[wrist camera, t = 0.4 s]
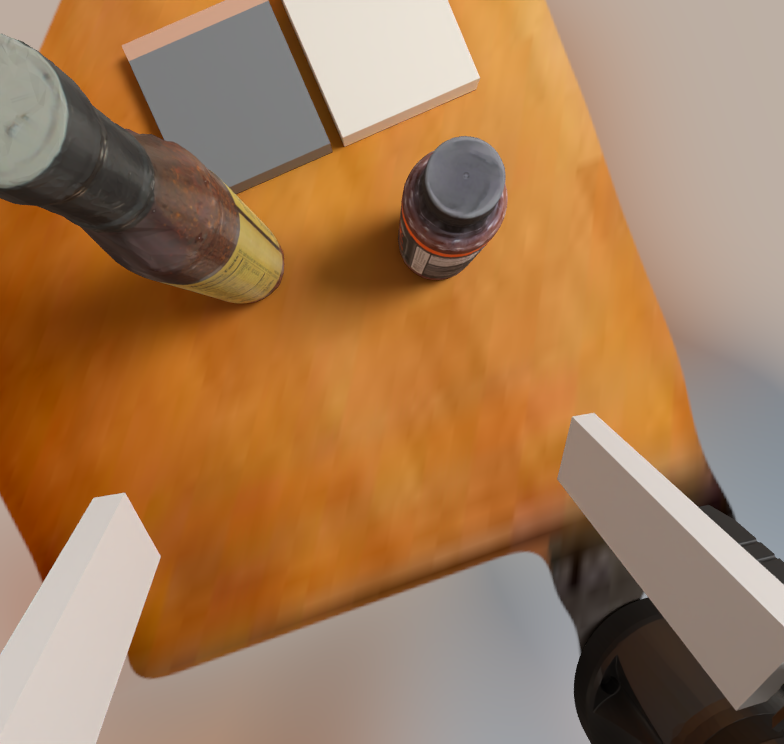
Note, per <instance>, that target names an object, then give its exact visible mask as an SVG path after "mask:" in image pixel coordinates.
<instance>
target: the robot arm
mask: <svg viewBox="0 0 784 744" xmlns="http://www.w3.org/2000/svg"><path fill="white" fill-rule="evenodd" d="M557 480H558V481H559V482H560V483H561V485H562V486H563V487H564V489H565V490H566V491H567V493H568V494H569V495H570V496H571V498H572V499H573V500H574V502H575V503H576V504H577V505H578V507H579V508H580V509H581V511H582V512H583V513H584V515H585V516H586V517H587V518H588V520H589V521H590V522H591V524H592V525H593V526H594V527H595V529H596V530H597V531H598V533H599V534H600V535H601V537H602V538H603V539H604V540H605V542H606V543H607V544H608V546H609V547H610V548H611V549H612V551H613V552H614V553H615V555H616V556H617V557H618V559H619V560H620V561H621V562H622V564H623V565H624V566H625V568H626V569H627V570H628V572H629V573H630V574H631V575H632V577H633V578H634V579H635V581H636V582H637V583H638V584H639V586H640V587H641V588H642V590H643V591H644V592H645V594H646V595H647V596H648V597H649V598H645V599H641V600H638V601H636V602H633V603H631V604H629V605H627V606H625V607H623V608H621V609H619V610H618V611H616V612H615V613H613V614H612V615H611V616H610V617H608V618H607V619H606V620H605V621H604V622H603V623H602V624H601V625H600V626H599V627H598V628H597V629H596V630H595V632H594V633H593V634H592V636H591V637H590V638H589V640H588V642H587V643H586V645H585V647H584V649H583V651H582V653H581V656H580V658H579V662H578V664H577V668H576V673H575V680H574V699H575V706H576V710H577V714H578V717H579V720H580V722H581V725H582V727H583V729H584V731H585V733H586V735H587V737H588V739H589V740H590V742H591V744H784V562H783V561H782V560H781V559H777V558H776V557H775V556H774V553H772V552H771V551H770V550H769V549H768V548H767V547H766V546H764V545H763V544H762V543H759V542H757V541H756V538H755V537H754V536H753V535H752V534H750V533H749V532H748V531H747V530H746V529H745V528H743V527H742V526H741V525H740V524H739V523H738V522H736V521H735V520H734V519H732V518H730V517H729V516H727V515H725V514H723V513H722V512H720V511H718V510H716V509H715V508H713V507H711V506H709V505H707V506H702V507H697V506H696V505H695V504H694V503H693V502H692V501H691V500H690V499H688V498H687V497H686V496H685V495H684V494H683V493H682V492H681V491H680V490H679V489H677V488H676V487H675V486H674V485H673V484H672V483H671V482H670V481H669V480H667V479H666V478H665V477H664V476H663V475H662V474H661V473H660V472H659V471H658V470H656V469H655V468H654V467H653V466H652V465H651V464H650V463H649V462H648V461H646V460H645V459H644V458H643V457H642V456H641V455H640V454H639V453H638V452H637V451H635V450H634V449H633V448H632V447H631V446H630V445H629V444H628V443H627V442H626V441H624V440H623V439H622V438H621V437H620V436H619V435H618V434H617V433H616V432H614V431H613V430H612V429H611V428H610V427H609V426H608V425H607V424H606V423H605V422H603V421H602V420H601V419H600V418H599V417H598V416H597V415H596V414H595V413H591V414H585V415H579V416H573V417H572V419H571V424H570V428H569V432H568V436H567V441H566V445H565V449H564V453H563V457H562V462H561V466H560V470H559V474H558V478H557ZM160 557H161V556H160V554H159V553H158V551H157V549H156V547H155V545H154V544H153V542H152V540H151V538H150V537H149V535H148V533H147V531H146V529H145V528H144V526H143V524H142V522H141V520H140V519H139V517H138V515H137V513H136V512H135V510H134V508H133V506H132V504H131V503H130V501H129V499H128V497H127V495H126V494H125V493H120V494H114V495H108V496H103V497H97V498H93V500H92V502H91V503H90V505H89V507H88V508H87V510H86V512H85V513H84V515H83V517H82V518H81V520H80V522H79V523H78V525H77V527H76V528H75V530H74V532H73V533H72V535H71V537H70V538H69V540H68V542H67V543H66V545H65V547H64V548H63V550H62V552H61V553H60V555H59V557H58V558H57V560H56V562H55V563H54V565H53V567H52V568H51V570H50V572H49V574H48V575H47V577H46V579H45V580H44V582H43V584H42V586H41V587H40V589H39V590H38V592H37V594H36V595H35V597H34V599H33V600H32V602H31V604H30V605H29V607H28V609H27V610H26V612H25V614H24V615H23V617H22V619H21V620H20V622H19V624H18V625H17V627H16V629H15V630H14V632H13V634H12V636H11V637H10V639H9V640H8V642H7V644H6V645H5V647H4V649H3V651H2V652H1V654H0V744H96V742H97V739H98V736H99V733H100V730H101V727H102V724H103V721H104V719H105V716H106V713H107V710H108V707H109V704H110V701H111V698H112V696H113V693H114V690H115V687H116V684H117V681H118V678H119V675H120V673H121V670H122V667H123V664H124V661H125V658H126V655H127V652H128V650H129V647H130V644H131V641H132V638H133V635H134V632H135V629H136V626H137V624H138V621H139V618H140V615H141V612H142V609H143V606H144V603H145V601H146V598H147V595H148V592H149V589H150V586H151V583H152V580H153V578H154V575H155V572H156V569H157V566H158V563H159V560H160Z"/></svg>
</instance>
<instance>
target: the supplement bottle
mask: <svg viewBox="0 0 784 744" xmlns="http://www.w3.org/2000/svg"><path fill="white" fill-rule="evenodd" d="M506 208H507V189H506V185H505V168H504V165H503V163H502V160H501V158H500V156H499V154H498V153H497V152H496V150H495V149H494V148H493V147H492V146H491V145H489V144H488V143H487V142H485V141H483V140H480V139H478V138H474V137H467V136H461V137H456V138H452V139H450V140H447V141H445V142H444V143H442V144H441V145H440V146H439V147H438V148H436V149H435V151H433V152H430V153H429V154H427V155H426V156H425V157H423V158H422V159H421V160H420V161H419V162H418V163H417V164H416V165H415V166H414V168H413V169H412V170H411V172H410V174H409V176H408V178H407V180H406V183H405V186H404V191H403V196H402V204H401V215H400V225H399V233H398V242H399V249H400V253H401V256H402V258H403V260H404V262H405V264H406V265H407V266H408V267H409V268H410V269H411V270H412V271H413V272H414V273H416V274H417V275H419V276H421V277H423V278H426V279H431V280H443V279H447V278H450V277H452V276H454V275H457V274H458V273H459V272H461V271H462V270H463V269H464V268H465V267H466V266H467V265H468V264H469V263H470V262H471V261H472V260H473V259H474V258H475V257H476V255H477V254H478V253H479V252H480V251H481V250H482V249H483V248H484V247H485V246H486V244H487V243H488V242H489V241H490V240H491V239H492V237H493V236H494V235H495V234H496V232H497V231H498V229H499V228H500V226H501V224H502V222H503V219H504V216H505V213H506Z"/></svg>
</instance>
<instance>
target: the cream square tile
mask: <svg viewBox="0 0 784 744" xmlns="http://www.w3.org/2000/svg"><path fill="white" fill-rule="evenodd" d="M281 1H282V4H283V6H284V8H285V10H286V13H287V15H288V17H289V20H290V22H291V24H292V27H293V29H294V31H295V34H296V36H297V38H298V40H299V43H300V45H301V47H302V50H303V52H304V54H305V57H306V59H307V61H308V64H309V66H310V68H311V70H312V73H313V75H314V77H315V80H316V82H317V84H318V87H319V89H320V91H321V94H322V96H323V98H324V100H325V103H326V105H327V107H328V110H329V112H330V114H331V117H332V119H333V121H334V124H335V126H336V128H337V130H338V133H339V135H340V137H341V140H342V142H343V144H344V147H345V146H347V145H350V144H352V143H354V142H357V141H359V140H361V139H363V138H366V137H368V136H370V135H373V134H375V133H377V132H379V131H382V130H384V129H386V128H389V127H391V126H393V125H395V124H398V123H400V122H402V121H405V120H407V119H409V118H412V117H414V116H416V115H418V114H421V113H423V112H425V111H428V110H430V109H432V108H434V107H437V106H439V105H441V104H444V103H446V102H448V101H450V100H453V99H455V98H457V97H460V96H462V95H464V94H466V93H469V92H471V91H473V90H476V88H477V85H478V82H479V79H480V77H479V74H478V72H477V70H476V67H475V65H474V62H473V60H472V58H471V55H470V53H469V50H468V48H467V46H466V43H465V41H464V38H463V36H462V34H461V31H460V29H459V26H458V24H457V22H456V19H455V17H454V14H453V12H452V10H451V7H450V5H449V2H448V0H281Z"/></svg>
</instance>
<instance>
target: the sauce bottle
mask: <svg viewBox="0 0 784 744" xmlns="http://www.w3.org/2000/svg"><path fill="white" fill-rule="evenodd" d="M0 198H1V199H4V200H7V201H9V202H12V203H15V204H20V205H34V206H38V207H41V208H44V209H46V210H48V211H50V212H53V213H56V214H59V215H61V216H64V217H65V218H66V219H68V220H69V221H71V222H72V223H74V224H76V225H78V226H80V227H81V228H82V229H83V230H84V231H85V232H86V233H87V234H88V235H89V236H90V237H91V238H92V239H93V240H94V241H95V242H96V243H97V244H98V245H99V246H100V247H101V248H102V249H103V250H104V251H105V252H107V253H108V254H109V255H110V256H111V257H112V258H113V259H114V260H115V261H116V262H117V263H119V264H120V265H121V266H123V267H124V268H126V269H128V270H129V271H131V272H133V273H135V274H138V275H140V276H142V277H144V278H147V279H151V280H154V281H157V282H161V283H165V284H168V285H172V286H175V287H179V288H182V289H186V290H190V291H193V292H196V293H200V294H203V295H207V296H210V297H213V298H217V299H220V300H223V301H227V302H231V303H254V302H257V301H259V300H261V299H264V298H265V297H267V296H268V295H270V294H271V293H272V292H273V291H274V290H275V289H276V288H278V286H279V285H280V283H281V280H282V276H283V271H284V254H283V251H282V249H281V246H280V245H279V243H278V241H277V240H276V238H275V236H274V235H273V233H272V232H271V231H270V230H269V229H268V227H267V226H266V225H265V224H264V223H263V222H262V221H261V220H260V219H259V218H258V217H257V216H256V215H255V214H254V213H253V212H252V211H251V210H250V209H249V208H248V207H247V206H246V205H245V204H244V203H243V202H242V201H241V200H240V199H239V197H238V196H237V195H236V194H235V193H234V192H233V191H232V190H231V189H230V188H229V187H228V186H227V185H226V184H225V183H224V182H223V181H222V180H221V179H220V178H219V177H218V176H217V175H216V174H214V173H213V172H212V171H210V170H209V169H207V168H206V167H205V165H204V164H202V163H201V161H200V160H199V159H198V158H196V157H195V156H194V155H193V154H192V153H190V152H189V151H188V150H186V149H185V148H183V147H182V146H180V145H179V144H177V143H175V142H173V141H165V140H163V139H160V138H158V137H156V136H154V135H152V134H137V133H135V132H133V131H131V130H129V129H124V128H122V127H120V126H119V125H118V124H116V123H114V122H112V121H111V120H110V119H109V118H108V117H106V116H105V115H104V114H103V113H101V112H100V111H99V110H97V109H96V108H95V107H94V106H92V104H91V103H90V101H89V99H88V98H87V97H86V95H85V94H84V93H83V92H82V91H81V90H80V88H79V87H78V85H77V84H76V83H75V82H74V81H73V80H72V79H71V78H70V77H68V76H67V75H66V74H65V73H64V72H63V71H61V70H60V69H59V68H58V67H57V66H55V64H54V63H53V62H51V61H50V60H48V59H47V58H46V57H44V56H43V55H42V54H41V53H39V52H38V51H37V50H35V49H33V48H31V47H30V46H28V45H27V44H25V43H24V42H22V41H19V40H16V39H13V38H10V37H8V36H6V35H3V34H0Z"/></svg>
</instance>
